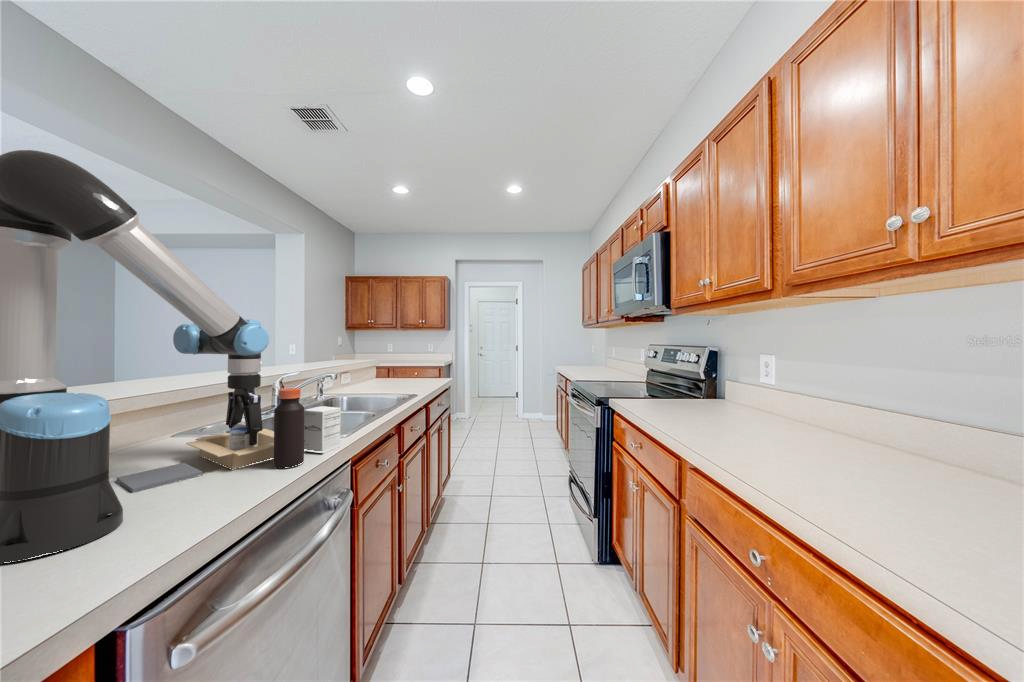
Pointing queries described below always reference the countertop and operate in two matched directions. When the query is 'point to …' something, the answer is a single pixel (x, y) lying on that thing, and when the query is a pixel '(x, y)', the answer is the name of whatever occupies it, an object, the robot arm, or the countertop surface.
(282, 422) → the bottle
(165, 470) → the mat
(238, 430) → the medicine box
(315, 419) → the supplement box
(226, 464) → the carton
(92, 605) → the countertop surface
